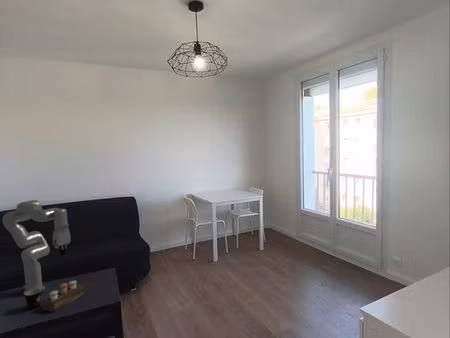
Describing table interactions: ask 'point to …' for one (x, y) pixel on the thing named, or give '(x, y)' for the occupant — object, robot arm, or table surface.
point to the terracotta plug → (63, 288)
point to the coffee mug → (33, 298)
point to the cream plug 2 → (72, 284)
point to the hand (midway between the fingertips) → (63, 254)
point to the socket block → (63, 299)
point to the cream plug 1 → (53, 295)
